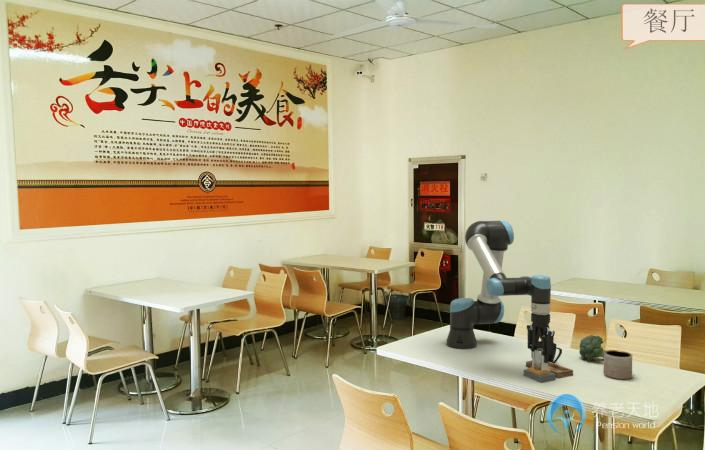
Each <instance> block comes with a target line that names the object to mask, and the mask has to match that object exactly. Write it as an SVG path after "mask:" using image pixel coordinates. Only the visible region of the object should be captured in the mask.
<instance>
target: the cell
mask: <svg viewBox="0 0 705 450" xmlns="http://www.w3.org/2000/svg"><path fill="white" fill-rule="evenodd" d="M542 354H543V349H542V348H538V349H535V350H534V369H535V370H539V371H542V370H541V364H542Z"/></svg>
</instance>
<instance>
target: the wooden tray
mask: <svg viewBox="0 0 705 450" xmlns="http://www.w3.org/2000/svg"><path fill="white" fill-rule="evenodd" d="M525 367H527V368H528V369H529V368H531V367H532V360H526V361H525ZM548 369H549V370H550V372H552V373H555V374H556V379H561V378H565V377H566V378H567V377H570V376H574V370H573V369H571V368H569V367H565V366H563V365H559V364H557V363H555V364H554V363H552V362H549V363H548Z"/></svg>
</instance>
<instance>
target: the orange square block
mask: <svg viewBox="0 0 705 450" xmlns="http://www.w3.org/2000/svg"><path fill="white" fill-rule="evenodd" d="M528 369H529V371H530V372H533V373H535V374H538V375H543V374H548V373H550V370H549V369H548V370H545V371H539V370H535V369H534V368H533V367H531V368H529V367H528Z"/></svg>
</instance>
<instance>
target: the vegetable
mask: <svg viewBox="0 0 705 450" xmlns="http://www.w3.org/2000/svg"><path fill="white" fill-rule="evenodd" d="M602 344H604V340H603V338H602V337H601V336H599V335H593V334H590V335H587V336H585V337H583V338H582V339H581V340H580V344H579V352H578V353H579V355H580V356H581V357H582V358H584V359H587V360H588V361H589V362H590V361H592V360H593V359H597V358H603V359H604V352H605V351H608V350H607V349H606V350H605V349H604V348H603V347H602Z"/></svg>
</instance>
